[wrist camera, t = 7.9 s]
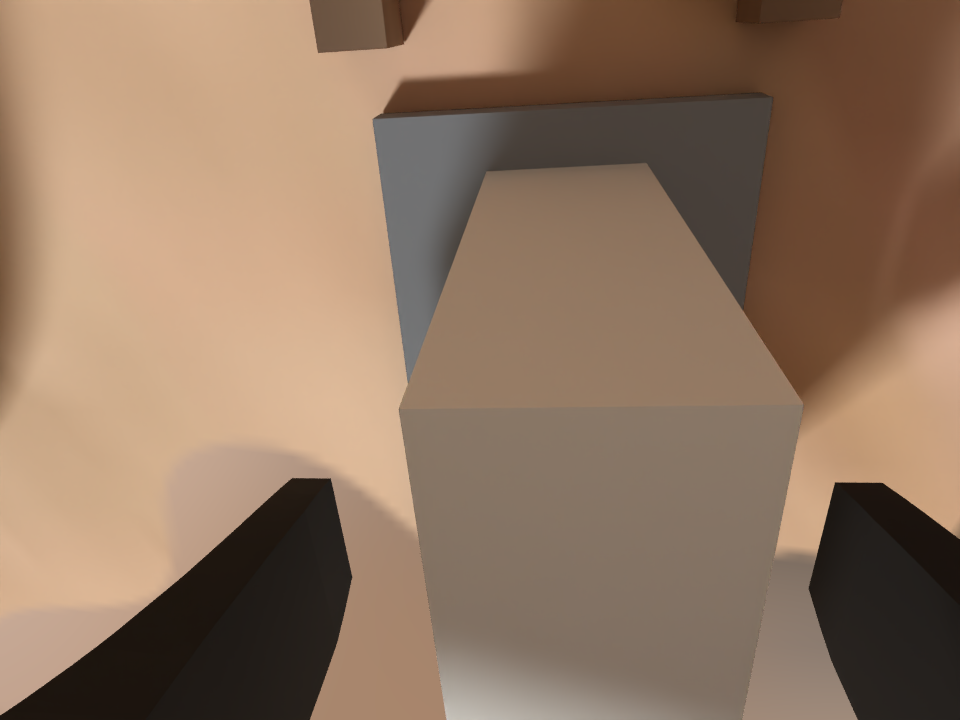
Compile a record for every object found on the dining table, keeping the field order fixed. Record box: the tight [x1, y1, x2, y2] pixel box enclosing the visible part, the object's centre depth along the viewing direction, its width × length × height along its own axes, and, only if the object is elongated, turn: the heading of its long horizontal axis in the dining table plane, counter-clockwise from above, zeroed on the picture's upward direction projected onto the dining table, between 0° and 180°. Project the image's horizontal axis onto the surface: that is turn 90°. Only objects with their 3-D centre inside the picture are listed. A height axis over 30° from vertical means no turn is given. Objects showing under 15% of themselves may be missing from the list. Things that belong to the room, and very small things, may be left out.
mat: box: [373, 93, 773, 383], centre depth 13 cm, size 6×11×1 cm, turn 4°
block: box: [399, 163, 804, 720], centre depth 9 cm, size 2×9×7 cm, turn 4°
